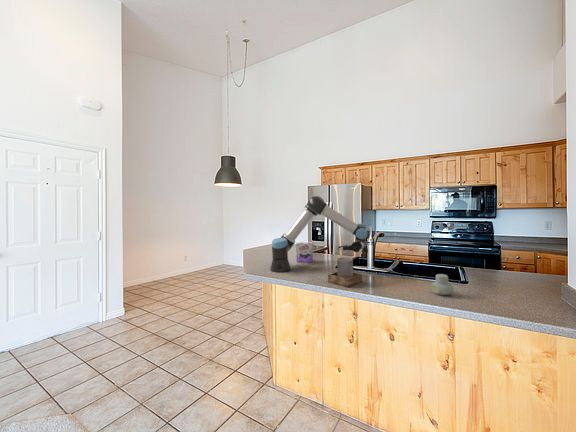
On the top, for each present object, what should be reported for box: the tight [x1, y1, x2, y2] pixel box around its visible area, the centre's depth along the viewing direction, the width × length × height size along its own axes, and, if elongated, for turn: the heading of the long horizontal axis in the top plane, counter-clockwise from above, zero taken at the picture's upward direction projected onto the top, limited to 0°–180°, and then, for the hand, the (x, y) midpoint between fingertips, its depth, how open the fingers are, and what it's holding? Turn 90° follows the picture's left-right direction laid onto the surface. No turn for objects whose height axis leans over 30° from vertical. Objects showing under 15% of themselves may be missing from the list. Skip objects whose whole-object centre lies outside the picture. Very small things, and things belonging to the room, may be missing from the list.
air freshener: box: [430, 273, 455, 296], centre depth 146 cm, size 11×8×10 cm
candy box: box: [295, 241, 314, 263], centre depth 231 cm, size 14×6×16 cm, turn 80°
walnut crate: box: [327, 271, 363, 288], centre depth 171 cm, size 15×15×5 cm
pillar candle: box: [336, 257, 354, 279], centre depth 171 cm, size 10×10×15 cm
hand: (349, 251), depth 179 cm, fingers open, 13 cm apart
